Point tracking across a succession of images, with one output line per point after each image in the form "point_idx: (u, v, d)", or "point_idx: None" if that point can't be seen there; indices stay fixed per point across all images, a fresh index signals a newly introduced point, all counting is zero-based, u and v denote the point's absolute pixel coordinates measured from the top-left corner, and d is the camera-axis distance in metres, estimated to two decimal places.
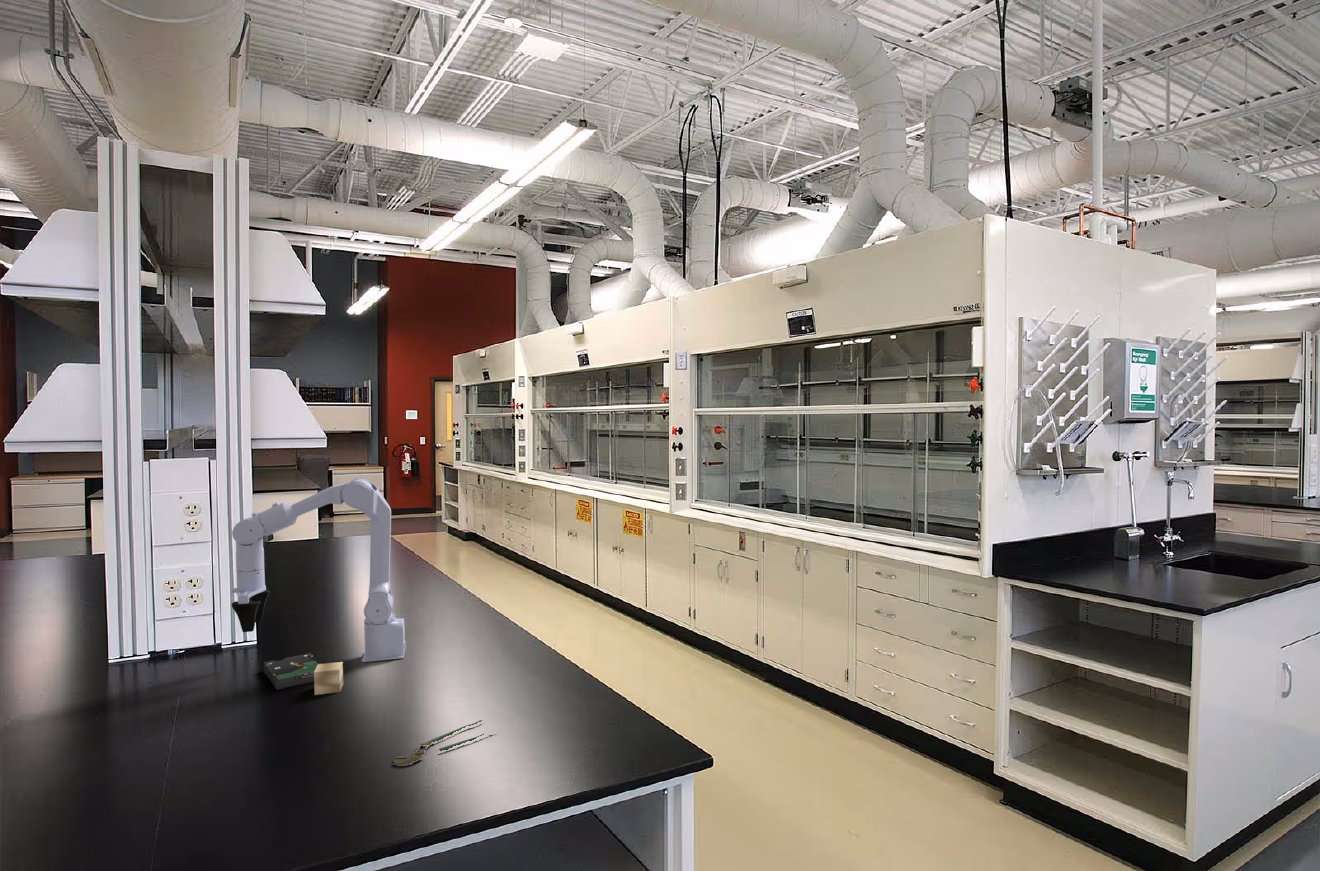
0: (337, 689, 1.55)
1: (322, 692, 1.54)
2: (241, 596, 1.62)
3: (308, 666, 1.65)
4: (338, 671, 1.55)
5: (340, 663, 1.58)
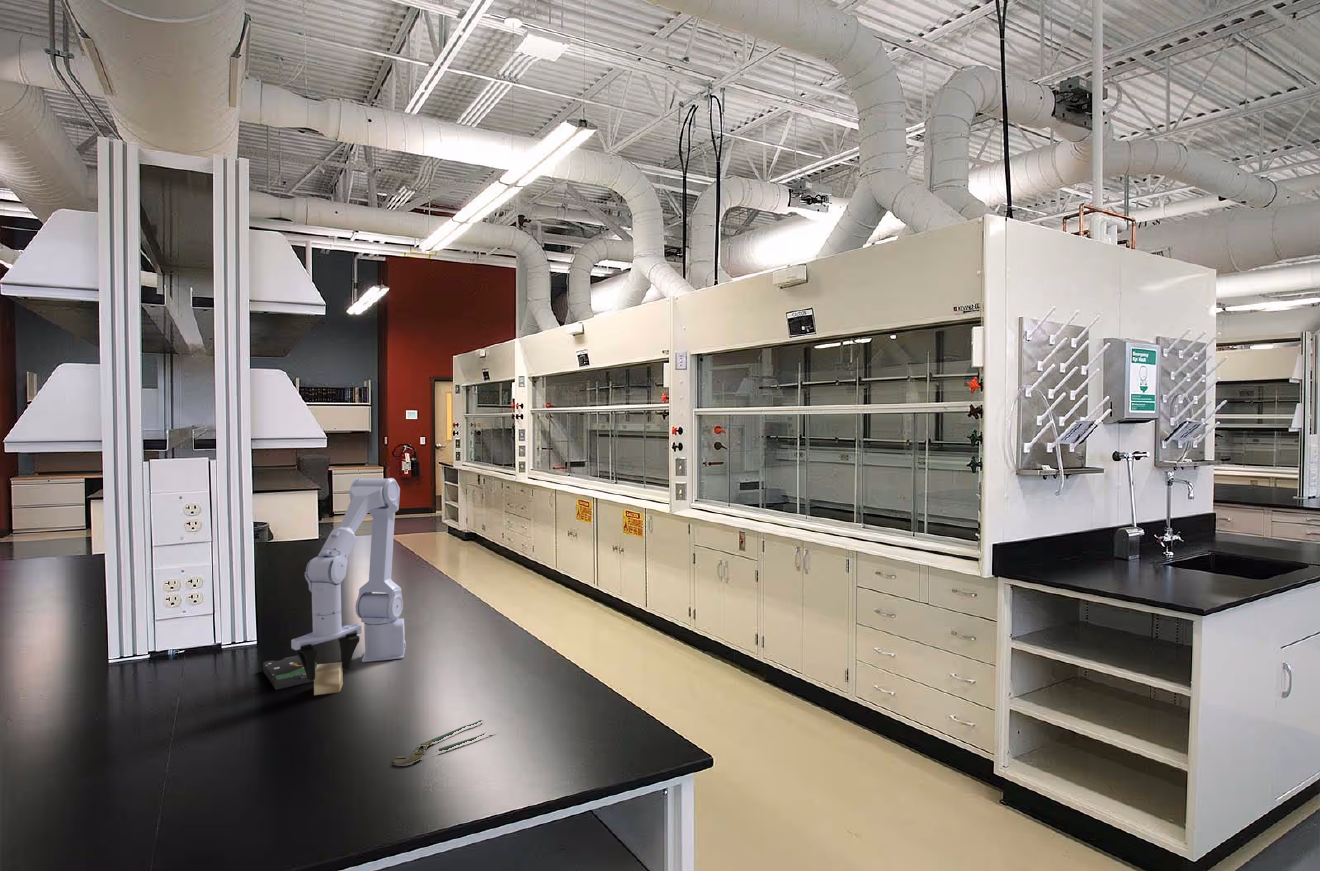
0: (337, 690, 1.55)
1: (322, 693, 1.54)
2: (292, 641, 1.51)
3: None
4: (338, 671, 1.55)
5: (340, 663, 1.58)
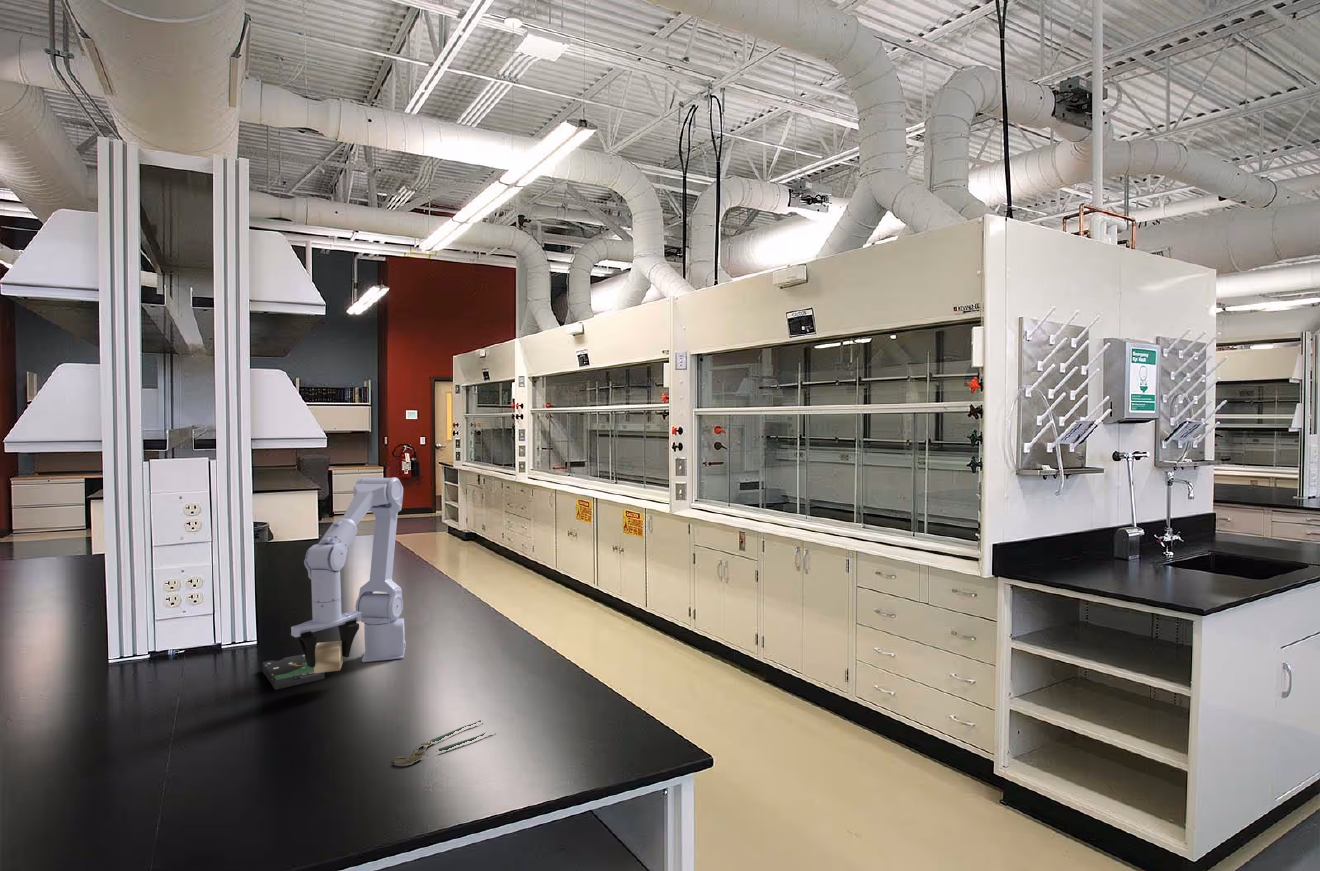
0: (337, 667, 1.55)
1: (322, 670, 1.54)
2: (292, 628, 1.51)
3: (306, 666, 1.65)
4: (338, 649, 1.55)
5: (339, 642, 1.58)
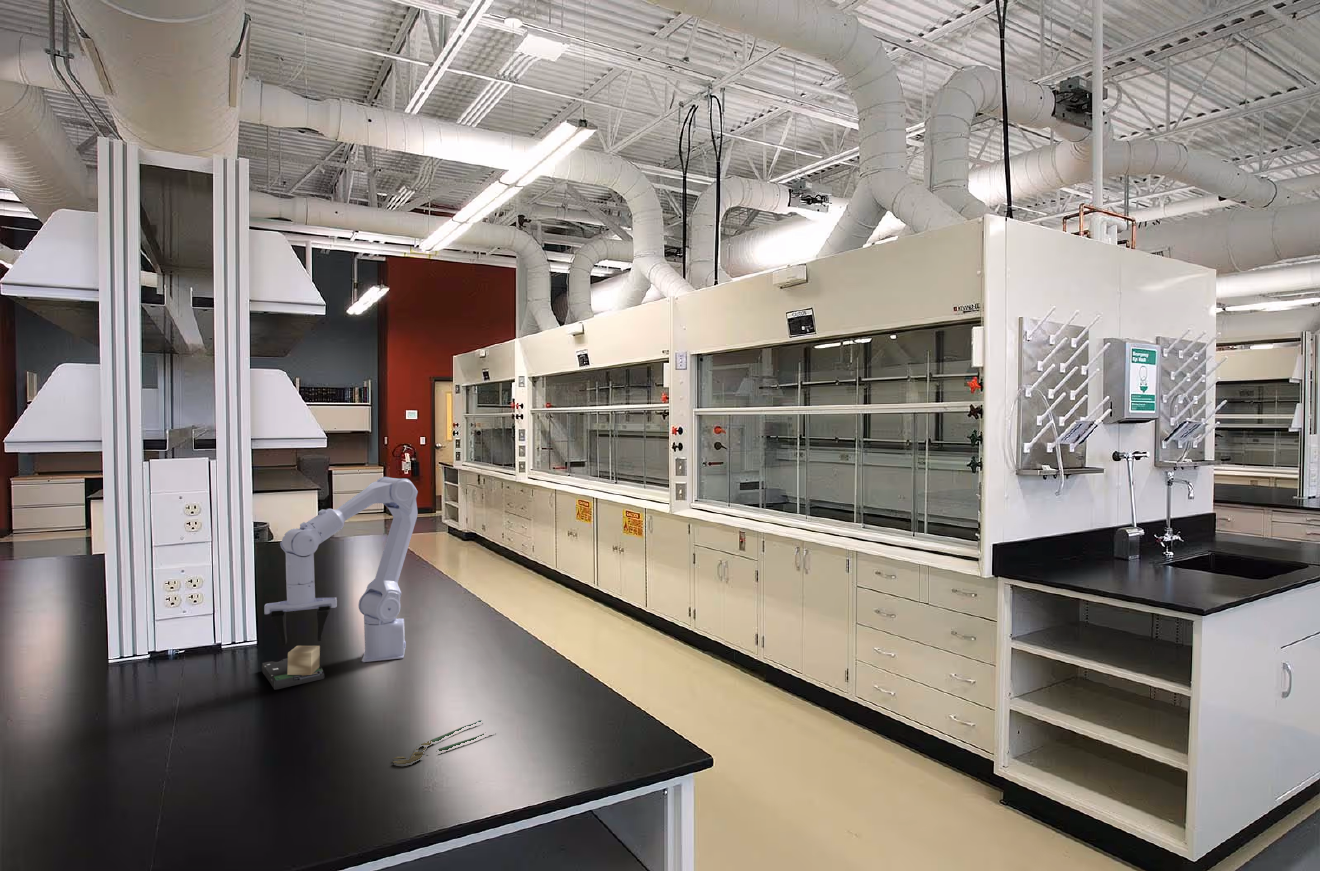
0: (308, 672, 1.60)
1: (295, 673, 1.60)
2: None
3: None
4: (310, 654, 1.60)
5: (316, 647, 1.64)
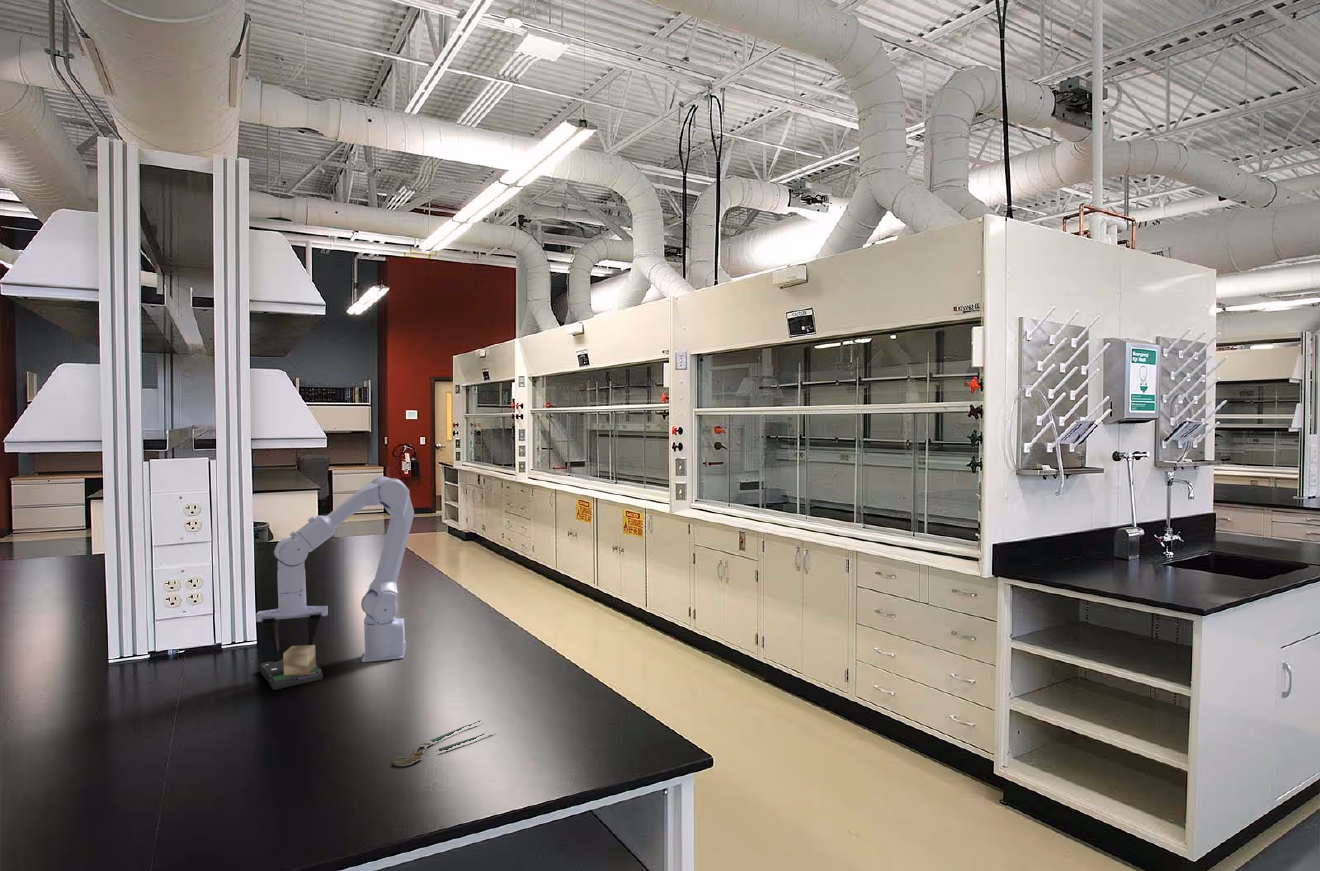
0: (305, 671, 1.60)
1: (291, 673, 1.60)
2: None
3: None
4: (306, 654, 1.60)
5: (312, 646, 1.64)
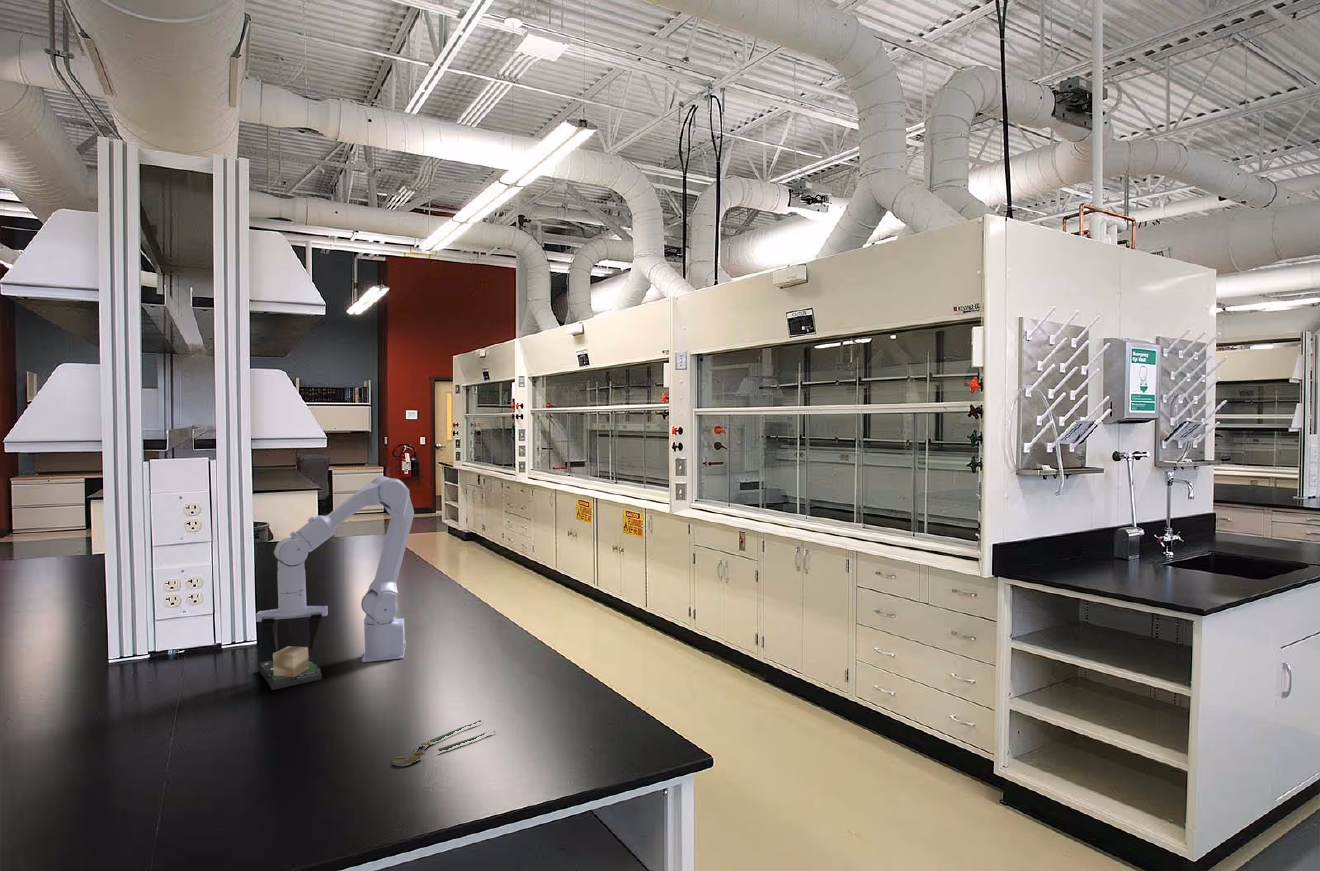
0: (291, 674, 1.59)
1: (280, 674, 1.59)
2: None
3: None
4: (292, 656, 1.58)
5: (303, 648, 1.62)
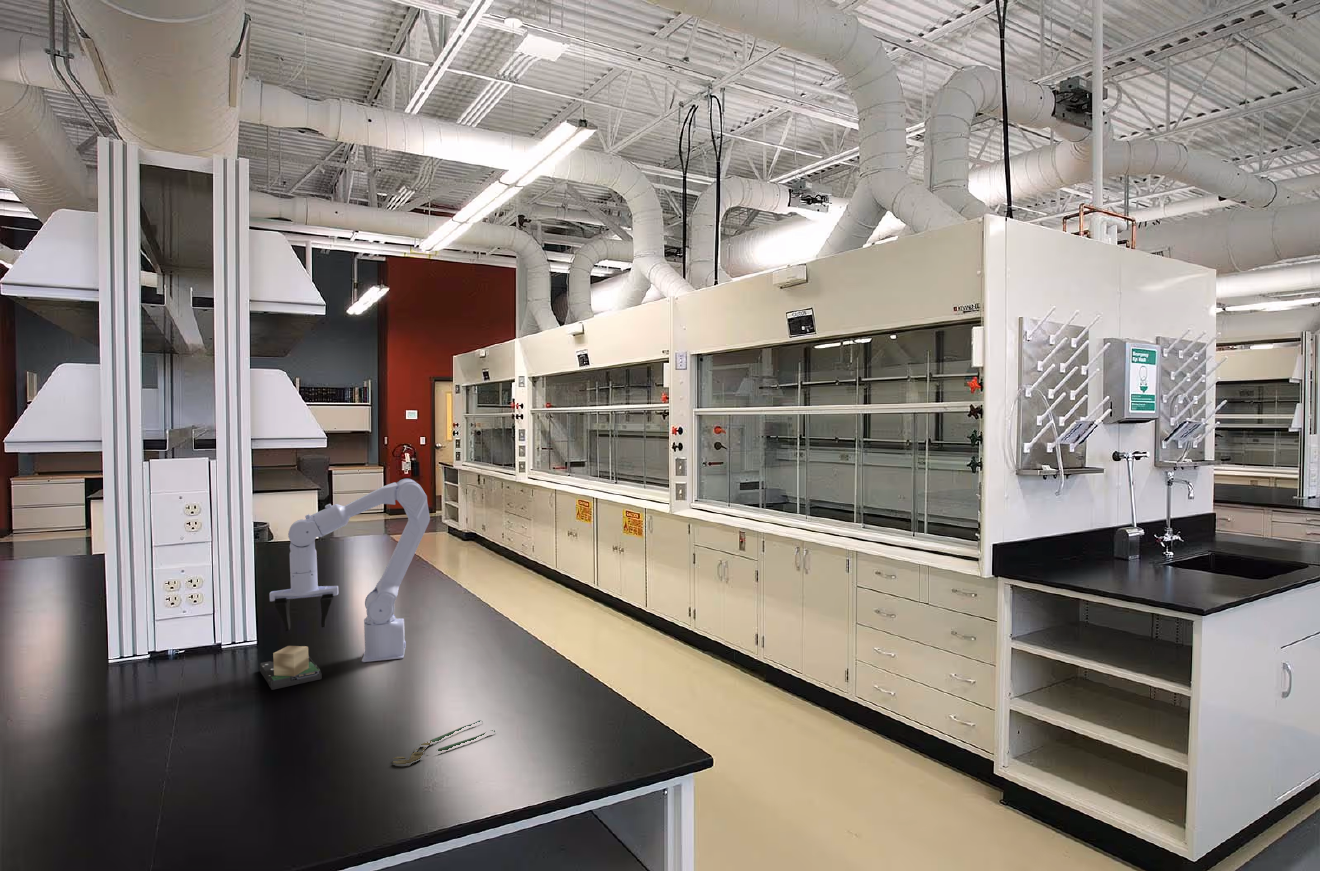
0: (292, 673, 1.59)
1: (280, 674, 1.60)
2: None
3: None
4: (292, 655, 1.59)
5: (304, 648, 1.63)
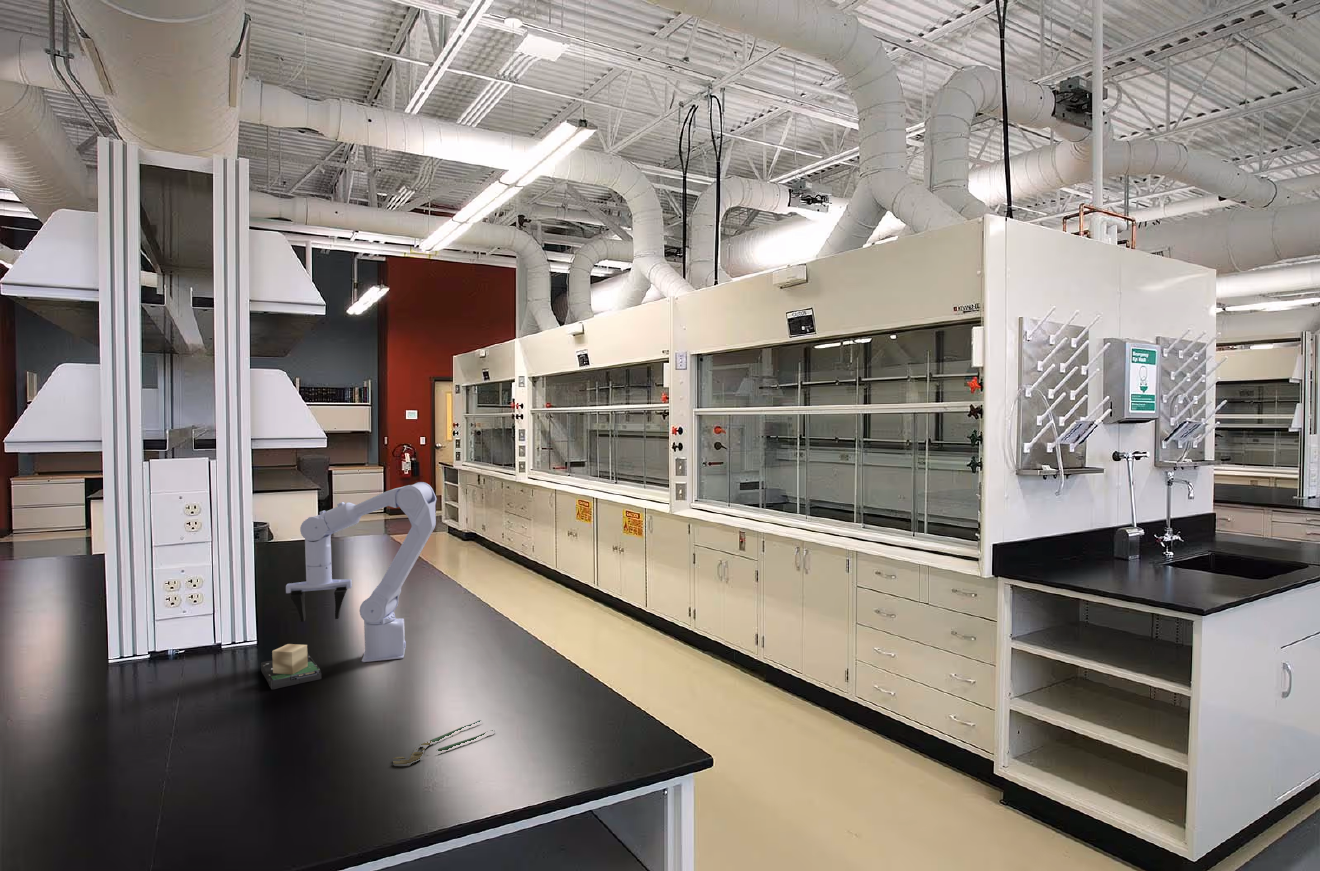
0: (290, 671, 1.60)
1: (279, 672, 1.61)
2: None
3: None
4: (291, 654, 1.60)
5: (302, 646, 1.64)
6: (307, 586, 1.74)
